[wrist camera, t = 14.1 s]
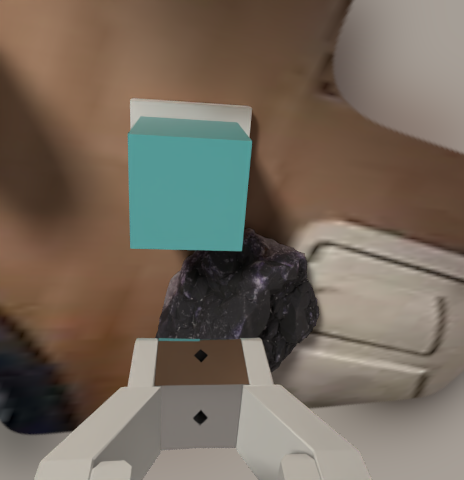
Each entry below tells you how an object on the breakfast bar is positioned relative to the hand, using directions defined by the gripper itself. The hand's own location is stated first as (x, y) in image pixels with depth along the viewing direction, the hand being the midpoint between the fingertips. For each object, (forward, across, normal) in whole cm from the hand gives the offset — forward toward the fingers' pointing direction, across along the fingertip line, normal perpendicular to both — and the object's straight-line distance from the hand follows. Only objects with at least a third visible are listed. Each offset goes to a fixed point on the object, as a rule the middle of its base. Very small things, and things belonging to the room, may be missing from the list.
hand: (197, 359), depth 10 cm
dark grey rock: (+22, -4, +12) cm, 26 cm away
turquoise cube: (+20, 0, 0) cm, 20 cm away
